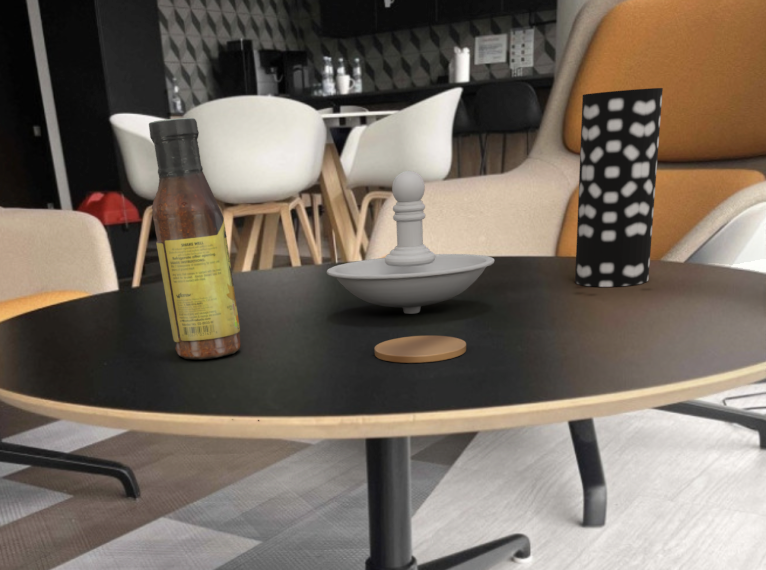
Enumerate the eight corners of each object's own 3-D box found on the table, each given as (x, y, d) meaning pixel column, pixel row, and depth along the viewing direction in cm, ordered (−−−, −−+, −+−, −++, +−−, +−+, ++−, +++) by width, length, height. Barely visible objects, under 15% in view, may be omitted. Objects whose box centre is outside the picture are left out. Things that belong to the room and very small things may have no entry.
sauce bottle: (256, 351, 81) (229, 114, 73) (202, 365, 77) (168, 117, 69) (213, 343, 86) (183, 120, 77) (160, 357, 82) (123, 123, 73)
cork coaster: (475, 342, 78) (475, 335, 78) (454, 364, 72) (453, 356, 71) (390, 341, 81) (390, 335, 81) (362, 362, 74) (361, 355, 74)
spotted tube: (652, 275, 105) (666, 88, 96) (643, 286, 98) (658, 87, 90) (582, 275, 108) (589, 95, 100) (568, 287, 101) (576, 94, 93)
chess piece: (444, 263, 90) (442, 169, 86) (396, 269, 89) (393, 173, 85) (422, 258, 95) (420, 168, 91) (377, 263, 93) (372, 172, 89)
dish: (337, 332, 86) (334, 280, 84) (324, 308, 99) (320, 262, 97) (511, 317, 88) (511, 265, 86) (475, 295, 101) (475, 249, 99)
